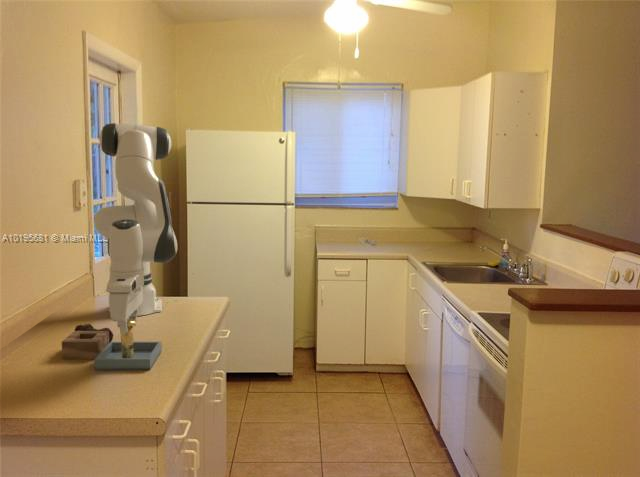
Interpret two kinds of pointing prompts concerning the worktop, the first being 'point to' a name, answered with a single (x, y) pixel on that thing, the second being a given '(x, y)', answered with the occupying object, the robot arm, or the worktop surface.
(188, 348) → the worktop surface
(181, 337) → the worktop surface
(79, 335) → the holder
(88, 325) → the bolt
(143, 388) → the worktop surface
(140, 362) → the tray
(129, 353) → the pin
